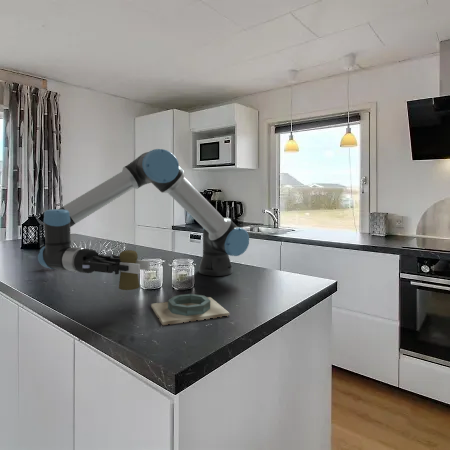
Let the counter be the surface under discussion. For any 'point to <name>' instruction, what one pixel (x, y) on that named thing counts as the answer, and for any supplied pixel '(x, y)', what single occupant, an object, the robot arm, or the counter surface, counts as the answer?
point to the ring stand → (188, 309)
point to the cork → (128, 279)
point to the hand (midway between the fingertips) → (144, 267)
